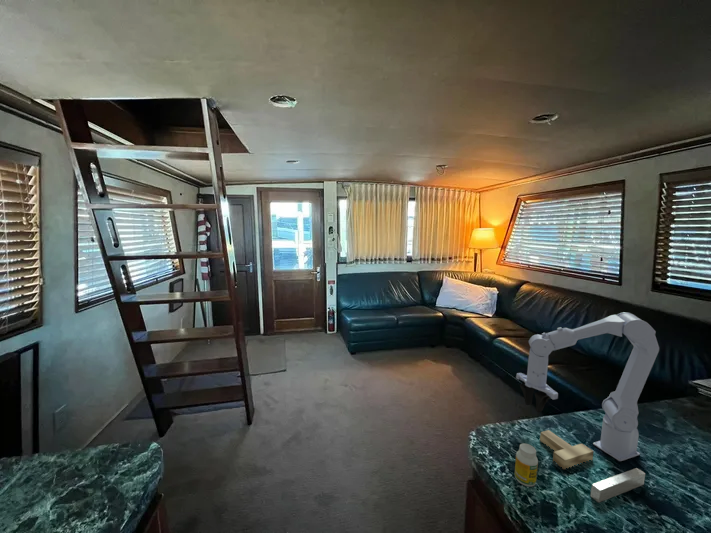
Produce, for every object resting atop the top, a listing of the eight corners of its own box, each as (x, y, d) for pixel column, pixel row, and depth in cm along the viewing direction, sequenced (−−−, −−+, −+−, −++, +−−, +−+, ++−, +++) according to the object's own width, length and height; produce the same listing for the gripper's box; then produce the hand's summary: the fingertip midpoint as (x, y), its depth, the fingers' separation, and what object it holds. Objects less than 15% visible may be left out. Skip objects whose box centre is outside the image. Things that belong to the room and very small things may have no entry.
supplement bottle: (520, 469, 89) (523, 438, 88) (539, 481, 84) (543, 450, 83) (510, 477, 86) (513, 446, 85) (529, 490, 81) (532, 458, 80)
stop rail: (635, 479, 86) (636, 467, 85) (643, 484, 84) (645, 473, 83) (590, 496, 80) (591, 484, 80) (598, 502, 78) (600, 490, 78)
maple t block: (557, 435, 103) (557, 427, 103) (592, 460, 93) (593, 451, 92) (530, 443, 100) (530, 434, 99) (563, 469, 89) (564, 460, 88)
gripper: (510, 362, 109) (508, 398, 110) (548, 382, 95) (543, 422, 97) (526, 360, 111) (522, 395, 113) (564, 379, 97) (560, 418, 99)
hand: (533, 407), depth 105 cm, fingers open, 4 cm apart
